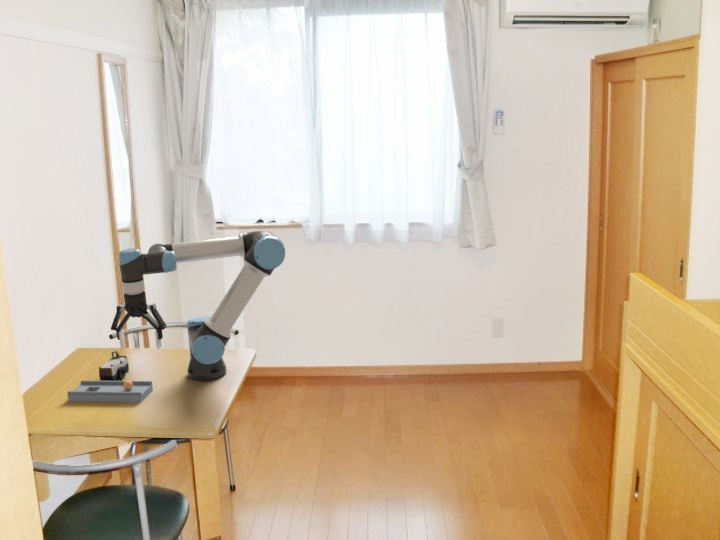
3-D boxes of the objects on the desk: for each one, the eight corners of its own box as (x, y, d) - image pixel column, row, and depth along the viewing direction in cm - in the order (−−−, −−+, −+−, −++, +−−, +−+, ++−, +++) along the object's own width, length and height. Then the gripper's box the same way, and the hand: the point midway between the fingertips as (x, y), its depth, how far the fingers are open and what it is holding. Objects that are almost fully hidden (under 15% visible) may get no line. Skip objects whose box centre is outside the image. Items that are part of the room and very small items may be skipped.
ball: (134, 387, 281) (133, 379, 280) (131, 391, 278) (130, 382, 277) (125, 387, 281) (124, 378, 280) (122, 391, 278) (120, 382, 277)
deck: (152, 390, 285) (151, 380, 284) (141, 402, 274) (140, 392, 273) (82, 389, 288) (81, 380, 287) (68, 401, 277) (67, 392, 276)
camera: (116, 385, 291) (113, 360, 289) (98, 384, 292) (95, 360, 290) (134, 370, 305) (131, 347, 303) (116, 370, 307) (114, 347, 304)
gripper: (171, 288, 272) (177, 343, 277) (105, 289, 275) (113, 344, 280) (163, 294, 265) (170, 351, 270) (96, 295, 268) (104, 351, 273)
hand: (141, 347), depth 275 cm, fingers open, 13 cm apart
